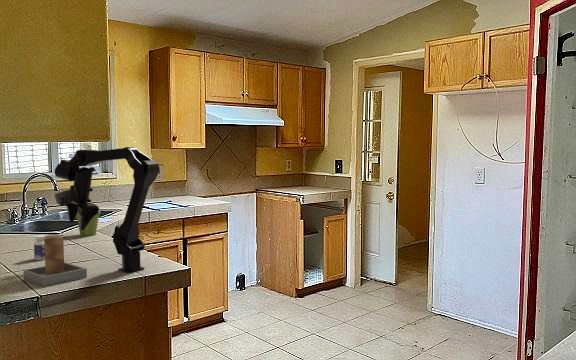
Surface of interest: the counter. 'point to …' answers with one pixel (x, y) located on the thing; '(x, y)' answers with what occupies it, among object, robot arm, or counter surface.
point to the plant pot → (89, 226)
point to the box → (55, 275)
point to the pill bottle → (39, 248)
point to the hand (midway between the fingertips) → (76, 226)
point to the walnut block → (54, 254)
